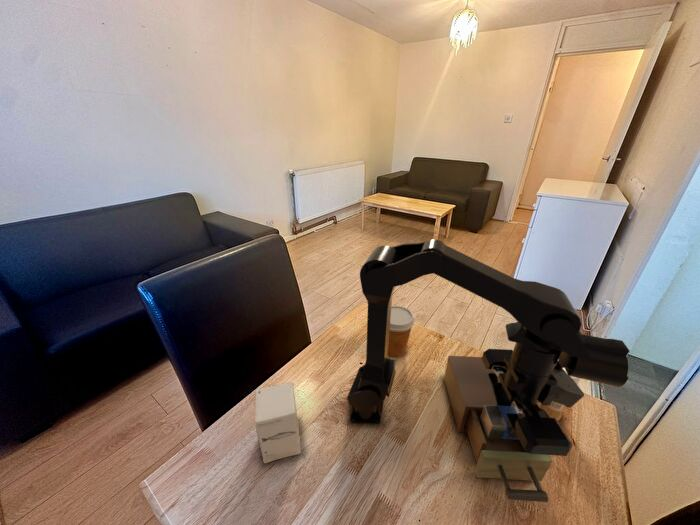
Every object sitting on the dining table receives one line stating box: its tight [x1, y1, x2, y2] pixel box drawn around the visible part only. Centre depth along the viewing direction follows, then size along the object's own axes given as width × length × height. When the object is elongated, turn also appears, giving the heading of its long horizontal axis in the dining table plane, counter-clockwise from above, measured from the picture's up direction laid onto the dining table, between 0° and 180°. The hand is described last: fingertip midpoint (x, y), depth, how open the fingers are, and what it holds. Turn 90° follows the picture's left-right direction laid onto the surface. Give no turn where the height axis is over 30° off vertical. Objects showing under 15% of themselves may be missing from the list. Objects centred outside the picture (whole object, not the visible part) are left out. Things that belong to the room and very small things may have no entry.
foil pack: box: [480, 405, 520, 440], centre depth 52 cm, size 8×4×4 cm, turn 87°
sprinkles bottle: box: [537, 368, 582, 421], centre depth 61 cm, size 5×5×13 cm
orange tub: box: [388, 305, 416, 357], centre depth 79 cm, size 10×10×12 cm
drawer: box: [465, 409, 553, 503], centre depth 53 cm, size 17×11×6 cm, turn 177°
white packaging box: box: [254, 381, 302, 464], centre depth 55 cm, size 7×7×13 cm
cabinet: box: [443, 355, 516, 433], centre depth 64 cm, size 14×13×8 cm
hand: (507, 424), depth 52 cm, fingers closed on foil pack, 4 cm apart
